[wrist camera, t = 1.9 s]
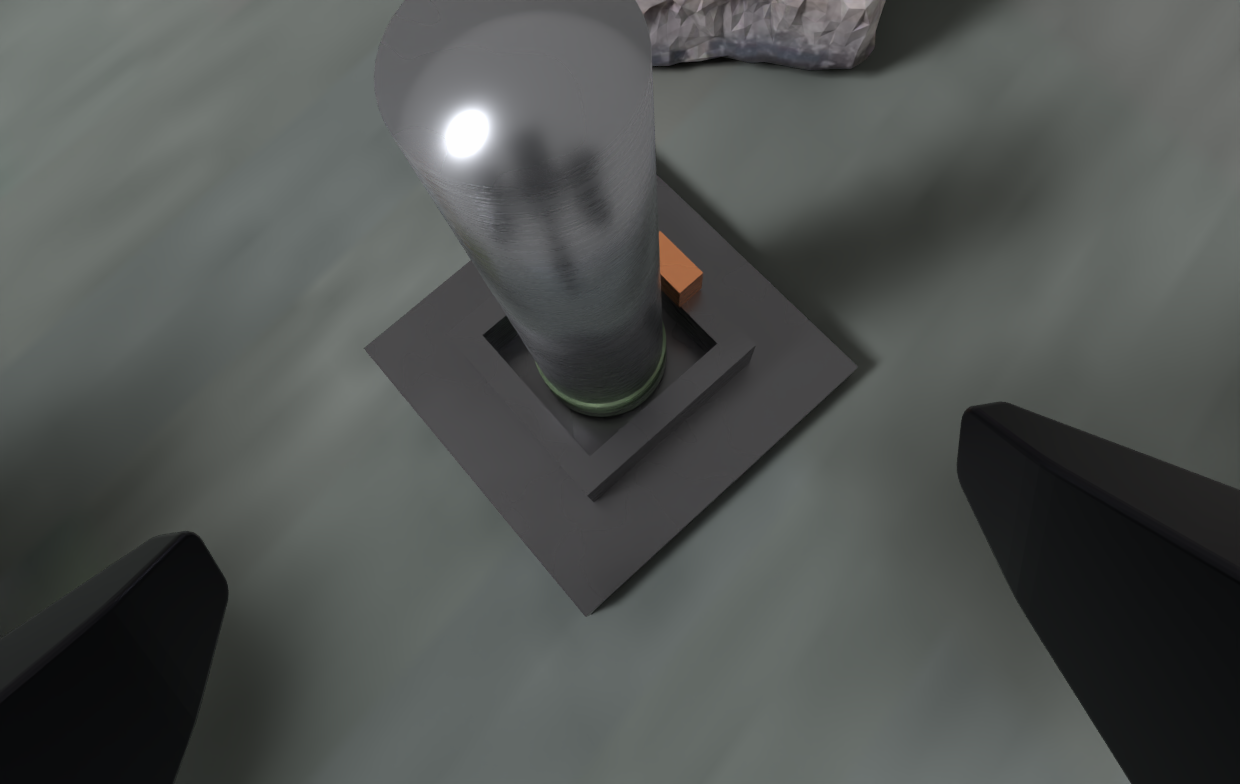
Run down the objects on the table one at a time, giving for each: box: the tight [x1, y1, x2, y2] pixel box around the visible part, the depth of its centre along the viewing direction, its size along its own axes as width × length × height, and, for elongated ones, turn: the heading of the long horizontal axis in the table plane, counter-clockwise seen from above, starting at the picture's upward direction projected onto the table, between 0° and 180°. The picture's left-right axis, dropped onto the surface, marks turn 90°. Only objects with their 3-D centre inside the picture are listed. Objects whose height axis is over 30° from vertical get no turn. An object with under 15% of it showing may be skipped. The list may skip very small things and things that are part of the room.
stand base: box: [364, 174, 858, 617], centre depth 19 cm, size 10×10×3 cm
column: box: [374, 0, 666, 417], centre depth 14 cm, size 4×4×12 cm
